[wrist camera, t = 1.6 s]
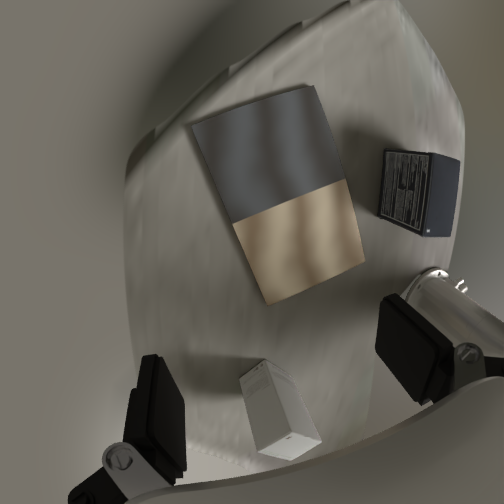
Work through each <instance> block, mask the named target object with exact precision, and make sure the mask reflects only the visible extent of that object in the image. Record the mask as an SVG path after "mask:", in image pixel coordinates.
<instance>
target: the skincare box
mask: <svg viewBox="0 0 504 504" xmlns="http://www.w3.org/2000/svg"><path fill="white" fill-rule="evenodd" d="M239 381H240V385H241V390H242V394H243V398H244V402H245V406H246V410H247V414H248V418H249V422H250V426H251V430H252V434H253V437H254V441H255V445H256V449H257V452H259V453H263V454H266V455H270V456H274V457H278V458H282V459H286V460H290V461H291V460H293V459H295V458H296V457H298V456H300V455H302V454H303V453H305V452H306V451H308V450H310V449H311V448H313V447H315V446H317V445H318V444H320V443H321V442H322V441H321V438H320V436H319V434H318V432H317V430H316V428H315V426H314V423H313V421H312V419H311V417H310V415H309V413H308V410H307V408H306V406H305V404H304V402H303V399H302V397H301V395H300V393H299V391H298V388H297V386H296V384H295V382H294V379H293V377H292V376H290V375H289V374H287V373H286V372H284V371H283V370H281V369H279V368H278V367H276V366H275V365H273V364H272V363H270V362H269V361H267V360H263V361H262V362H261V363H259V364H258V365H257V366H255V367H254V368H253V369H251V370H250V371H249V372H247V373H246V374H245V375H243V376H242V377H241V378H240V379H239Z"/></svg>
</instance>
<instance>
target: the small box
mask: <svg viewBox="0 0 504 504" xmlns="http://www.w3.org/2000/svg"><path fill="white" fill-rule="evenodd" d="M459 172H460V161H459V160H457V159H454V158H451V157H447V156H444V155H441V154H437V153H431V152H428V153H426V152H416V151H406V150H394V149H387V148H385V149H384V157H383V170H382V182H381V192H380V201H379V209H378V217H379V218H380V219H384V220H387V221H389V222H391V223H393V224H396V225H398V226H400V227H403V228H405V229H407V230H409V231H412V232H414V233H416V234H418V235H420V236H421V237H450V236H451V231H452V225H453V219H454V213H455V207H456V199H457V191H458V182H459Z"/></svg>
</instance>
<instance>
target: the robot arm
mask: <svg viewBox="0 0 504 504" xmlns="http://www.w3.org/2000/svg"><path fill="white" fill-rule="evenodd" d="M463 282H464V280H463V278H462V277H460V278H458V279H457V280H456V281H455V282H454V281H452V280H450V278H449V276H448V274H447V272H445V271H444V270H442V269H440V268H433V269H430V270H428V271H426V272H425V273H423V274H422V275H421V276H420V277H419V278H418V279H417V280H416V281H415V283H414V284H413V285H412V287H411V288H410V290H409V292H408V294H407V296H406V299H405V300H404V299H402V298H401V297H400V296H399V295H398V294H396V293H394V294H391V295H388V296H386V297H384V298H383V300H382V301H381V303H380V309H379V319H378V328H377V336H376V343H375V350H376V353H377V354H378V356H379V357H380V358H381V359H382V361H383V362H384V363H385V364H386V366H387V367H388V368H389V369H390V371H391V372H392V373H393V375H394V376H395V377H396V378H397V380H398V381H399V382H400V383H401V385H402V386H403V387H404V389H405V390H406V391H407V392H408V394H409V395H410V397H411V398H412V399H413V400H414V401H415V402H417V401H418V403H419V404H420V405H421V406H422V405H424V404H426V403H427V402H429V401H430V400H432V402H433V405H431V406H430V407H428V408H426V409H424V410H423V411H421V412H419V413H418V414H416V415H414V416H412V417H410V418H408V419H406V420H404V421H403V422H401V423H399V424H397V425H395V426H393V427H391V428H389V429H387V430H384V431H382V432H380V433H378V434H376V435H374V436H372V437H369V438H367V439H364V440H362V441H360V442H357V443H355V444H352V445H350V446H347V447H345V448H342V449H340V450H337V451H334V452H331V453H328V454H326V455H323V456H320V457H317V458H313V459H310V460H307V461H304V462H300V463H297V464H293V465H290V466H286V467H282V468H278V469H274V470H270V471H265V472H261V473H256V474H251V475H246V476H240V477H235V478H229V479H222V480H215V481H208V482H199V483H192V484H184V485H176V486H174V484H175V483H176V478H183V471H186V470H187V462H186V438H185V403H184V399H183V397H182V395H181V393H180V391H179V389H178V387H177V385H176V383H175V382H174V380H173V378H172V376H171V374H170V372H169V369H168V367H167V365H166V363H165V361H164V359H163V357H158V355H157V354H152V355H146V356H143V357H142V361H141V366H140V371H139V377H138V382H137V388H133V389H132V390H131V393H130V398H129V404H128V409H127V416H126V422H125V428H124V435H123V442H118V443H114V444H112V445H110V446H109V447H108V448H107V449H106V450H105V451H104V453H103V456H102V464H103V467H102V468H100V469H99V470H98V471H97V472H95V473H94V474H92V475H91V476H90V477H88V478H87V479H86V480H84V481H83V482H82V483H80V484H79V485H78V486H76V487H75V488H74V489H73V490H72V491H71V492H70V494H69V495H68V504H504V322H502V321H501V320H500V319H498V318H497V317H496V316H494V315H493V314H491V313H490V312H489V311H487V310H486V309H485V308H483V307H482V306H481V305H479V304H478V303H476V302H475V301H474V300H472V299H471V298H469V297H468V296H467V295H465V294H464V293H465V292H466V291H467V286H466V285H465V284H464V283H463Z"/></svg>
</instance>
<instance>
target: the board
mask: <svg viewBox="0 0 504 504" xmlns="http://www.w3.org/2000/svg"><path fill="white" fill-rule="evenodd" d="M191 127H192V130H193V132H194V135H195V137H196V139H197V142H198V144H199V147H200V149H201V151H202V154H203V156H204V158H205V161H206V163H207V166H208V168H209V170H210V173H211V175H212V177H213V180H214V182H215V185H216V187H217V189H218V192H219V194H220V196H221V199H222V201H223V203H224V206H225V208H226V211H227V213H228V215H229V218H230V220H231V222H232V225H233V227H234V229H235V232H236V234H237V236H238V239H239V241H240V243H241V246H242V248H243V250H244V253H245V255H246V257H247V260H248V262H249V264H250V267H251V269H252V271H253V274H254V276H255V278H256V281H257V283H258V285H259V288H260V290H261V292H262V294H263V297H264V299H265V301H266V304H267V306H270V305H272V304H274V303H277V302H279V301H281V300H283V299H286V298H288V297H290V296H293V295H295V294H297V293H299V292H302V291H304V290H306V289H308V288H310V287H313V286H315V285H317V284H319V283H321V282H324V281H326V280H328V279H330V278H332V277H334V276H336V275H338V274H341V273H343V272H345V271H347V270H349V269H351V268H353V267H355V266H357V265H359V264H361V263H363V262H365V258H364V253H363V248H362V243H361V238H360V234H359V229H358V225H357V221H356V217H355V213H354V209H353V205H352V201H351V197H350V193H349V189H348V186H347V182H346V179H345V175H344V172H343V168H342V165H341V162H340V158H339V155H338V152H337V149H336V146H335V143H334V139H333V136H332V133H331V131H330V128H329V125H328V122H327V119H326V116H325V113H324V111H323V108H322V105H321V103H320V100H319V97H318V95H317V92H316V90H315V87H314V85H313V86H309V87H305V88H301V89H297V90H293V91H289V92H286V93H282V94H279V95H276V96H272V97H269V98H266V99H262V100H259V101H256V102H253V103H250V104H247V105H244V106H241V107H238V108H236V109H233V110H230V111H227V112H225V113H222V114H219V115H217V116H214V117H212V118H209V119H207V120H204V121H202V122H199V123H197V124H194V125H192V126H191Z"/></svg>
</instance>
